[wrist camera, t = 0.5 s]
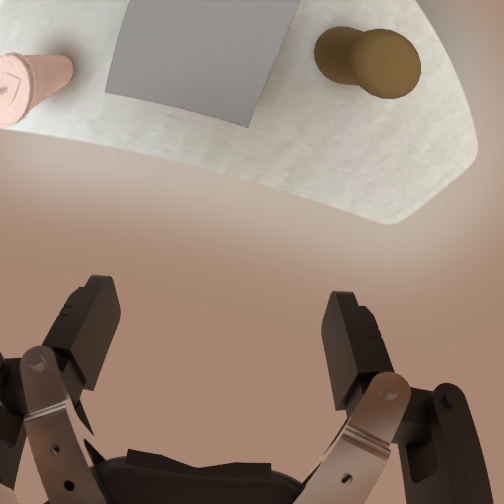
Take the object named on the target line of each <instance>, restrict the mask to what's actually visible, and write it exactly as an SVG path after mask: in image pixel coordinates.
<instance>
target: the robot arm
mask: <svg viewBox="0 0 504 504" xmlns="http://www.w3.org/2000/svg"><path fill="white" fill-rule="evenodd" d="M120 311H121V310H120V304H119V301H118V297H117V293H116V289H115V285H114V281H113V279H112V277H110V276H101V275H92V276H91V277H90V278H89V280H88V282H87V283H86V285H85V286H84V287H79V288H78V289H77V290H76V291H74V292H73V293H72V294H71V295H70V296H69V298H68V299H67V301H66V303H65V304H64V307H63V308H62V309H61V311H60V314H59V315H58V316H57V318H56V320H55V322H54V323H53V325H52V327H51V329H50V331H49V333H48V334H47V336H46V338H45V340H44V342H43V344H42V345H41V346H35V347H32V348H31V349H29V350H28V351H26V352H25V353H24V355H23V357H22V358H11V359H10V358H9V359H4V357H3V356H2V354H1V353H0V403H1V404H0V504H19V502H18V501H17V498H16V495H15V493H14V492H13V491H14V486H15V481H16V476H17V472H18V467H19V463H20V459H21V455H22V451H23V447H24V444H25V440H26V437H28V440H29V444H30V447H31V451H32V454H33V457H34V461H35V463H36V466H37V470H38V473H39V475H40V478H41V481H42V483H43V486H44V489H45V492H46V494H47V496H48V499H49V500H48V501H47V502H45V503H44V504H364V503H365V501H366V499H367V498H368V496H369V494H370V492H371V491H372V489H373V487H374V485H375V484H376V482H377V480H378V478H379V476H380V474H381V472H382V470H383V469H384V467H385V465H386V463H387V461H388V459H389V456H390V450H389V445H390V443H396V444H398V447H399V454H400V460H401V466H402V472H403V480H404V487H405V495H406V503H407V504H493V498H492V493H491V487H490V483H489V478H488V473H487V469H486V465H485V461H484V457H483V453H482V449H481V446H480V442H479V438H478V435H477V432H476V428H475V425H474V422H473V419H472V415H471V412H470V409H469V406H468V403H467V400H466V398H465V395H464V393H463V392H462V391H461V390H460V389H459V388H458V387H457V386H455V385H453V384H450V383H443V384H440V385H438V386H437V387H436V389H435V390H434V391H428V390H422V389H417V388H412V387H410V386H409V384H408V382H407V381H406V380H405V379H404V378H403V377H402V376H401V375H399V374H397V373H395V372H394V369H393V366H392V364H391V361H390V358H389V355H388V352H387V349H386V347H385V344H384V341H383V339H382V338H381V333H380V331H379V329H378V325H377V322H376V320H375V317H374V315H373V314H372V313H371V312H370V311H369V310H368V309H367V307H366V306H358V303H357V300H356V298H355V295H354V293H353V292H344V291H343V292H342V291H333V292H332V293H331V295H330V298H329V301H328V305H327V308H326V311H325V314H324V318H323V321H322V329H321V334H322V340H323V345H324V350H325V355H326V360H327V366H328V371H329V376H330V381H331V387H332V392H333V398H334V404H335V409H336V411H337V410H346V414H347V418H346V420H345V421H344V423H343V424H342V426H341V428H340V430H339V431H338V432H337V434H336V436H335V437H334V439H333V440H332V442H331V443H330V445H329V446H328V448H327V449H326V451H325V452H324V453H323V455H322V456H321V458H320V459H319V460H318V462H317V463H316V464H315V466H314V467H313V468H312V469H311V471H310V472H309V473H308V475H307V476H306V477H305V479H304V480H303V481H302V483H301V482H299V481H298V480H296V479H294V478H293V477H290V476H288V475H286V474H283V473H280V472H277V471H273V470H271V463H238V462H234V463H229V464H222V465H216V466H210V467H202V468H196V467H192V466H189V465H186V464H184V463H181V462H178V461H176V460H173V459H170V458H168V457H165V456H163V455H159V454H153V453H147V452H141V451H136V450H131V449H128V452H127V456H123V457H116V458H112V459H110V457H109V455H108V453H107V452H106V450H105V449H104V447H103V446H102V444H101V442H100V441H99V439H98V437H97V435H96V432H95V430H94V428H93V425H92V423H91V420H90V418H89V416H88V413H87V410H86V408H85V405H84V403H83V400H82V398H81V393H82V390H83V389H87V390H91V391H94V388H95V385H96V382H97V379H98V376H99V373H100V371H101V368H102V365H103V362H104V359H105V357H106V354H107V352H108V349H109V346H110V344H111V341H112V339H113V336H114V334H115V331H116V329H117V326H118V324H119V321H120V314H121V312H120Z"/></svg>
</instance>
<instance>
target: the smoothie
mask: <svg viewBox="0 0 504 504" xmlns="http://www.w3.org/2000/svg"><path fill="white" fill-rule="evenodd" d="M73 71H74V68H73V63H72V61H71V60H70V59H69V58H68V57H67V56H64V55H22V54H19V53H15V52H13V53H7V54H5V55H2V56H0V127H1V128H5V127H9V126H12V125H13V124H16V123H19V122H20V121H21V120H22V119H24V118H25V117H26V115H27V114H28V113H29V111H30V110H31V109H32V108H33V107H35V106H36V105H37V104H39V103H40V102H42V101H43V100H45V99H46V98H47V97H49V96H50V95H52V94H53V93H55V92H56V91H58V90H59V89H61V88H62V87H64V86H66V85H67V84H68V83H69V82H70V80H71V78H72V76H73Z"/></svg>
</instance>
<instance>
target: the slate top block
mask: <svg viewBox="0 0 504 504" xmlns="http://www.w3.org/2000/svg"><path fill="white" fill-rule="evenodd" d="M299 3H300V0H130V2H129V5H128V8H127V11H126V14H125V17H124V20H123V23H122V26H121V30H120V33H119V37H118V40H117V44H116V47H115V51H114V55H113V59H112V63H111V67H110V71H109V76H108V80H107V85H106V89H105V93H110V94H116V95H121V96H127V97H132V98H137V99H141V100H146V101H151V102H155V103H160V104H164V105H168V106H172V107H177V108H181V109H185V110H188V111H192V112H196V113H200V114H203V115H207V116H211V117H214V118H218V119H221V120H225V121H228V122H231V123H235V124H238V125H241V126H244V127H247V128H248V126H249V124H250V121H251V119H252V116H253V113H254V111H255V108H256V106H257V103H258V101H259V98H260V95H261V93H262V90H263V88H264V85H265V83H266V80H267V78H268V75H269V73H270V71H271V68H272V66H273V63H274V61H275V58H276V56H277V54H278V51H279V49H280V46H281V44H282V42H283V39H284V37H285V35H286V32H287V30H288V28H289V25H290V23H291V21H292V18H293V16H294V14H295V12H296V9H297V7H298V5H299Z"/></svg>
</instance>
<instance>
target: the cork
mask: <svg viewBox="0 0 504 504" xmlns="http://www.w3.org/2000/svg"><path fill="white" fill-rule="evenodd" d="M314 54H315V61H316V63H317V66H318V68H319V70H320V71H321V72H322V73H323V74H324V75H325V76H326V77H327V78H329V79H330V80H332V81H334V82H337V83H340V84H350V85H359V86H360V87H361V88H363V89H364V90H365V91H367V92H368V93H370V94H371V95H374V96H377V97H379V98H383V99H396V98H400V97H403V96H405V95H407V94H408V93H409V92H411V91H412V90H413V89H414V87H415V86H416V84H417V83H418V81H419V77H420V74H421V62H420V59H419V55H418V52H417V51H416V49H415V48H414V46H413V44H412V43H411V42H410V41H408V40H407V39H406V38H405V37H404V36H402V35H400V34H398V33H396V32H394V31H392V30H386V29H374V30H370V31H366V32H363V31H359V30H356V29H353V28H349V27H335V28H331V29H329V30H327V31H326V32H324V33H323V34H322V35H321V36H320V37H319V39H318V40H317V42H316V45H315V49H314Z"/></svg>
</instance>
